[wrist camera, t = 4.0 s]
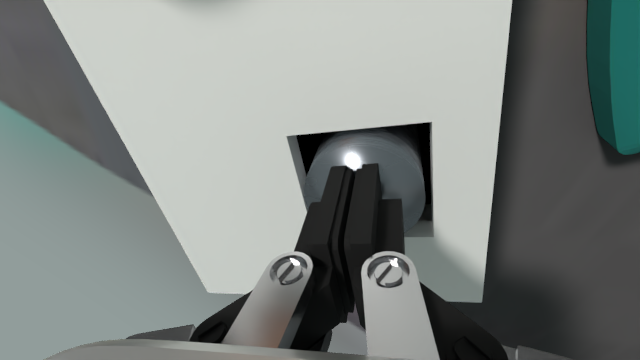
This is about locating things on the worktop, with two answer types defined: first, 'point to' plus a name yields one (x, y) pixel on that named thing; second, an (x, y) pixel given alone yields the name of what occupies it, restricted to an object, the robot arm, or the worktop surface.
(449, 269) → the panel
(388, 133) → the charcoal plunger
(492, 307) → the worktop surface
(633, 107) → the digital multimeter
